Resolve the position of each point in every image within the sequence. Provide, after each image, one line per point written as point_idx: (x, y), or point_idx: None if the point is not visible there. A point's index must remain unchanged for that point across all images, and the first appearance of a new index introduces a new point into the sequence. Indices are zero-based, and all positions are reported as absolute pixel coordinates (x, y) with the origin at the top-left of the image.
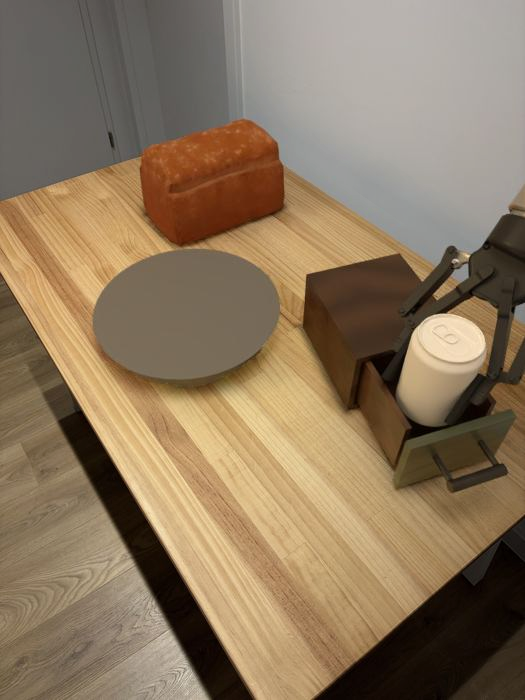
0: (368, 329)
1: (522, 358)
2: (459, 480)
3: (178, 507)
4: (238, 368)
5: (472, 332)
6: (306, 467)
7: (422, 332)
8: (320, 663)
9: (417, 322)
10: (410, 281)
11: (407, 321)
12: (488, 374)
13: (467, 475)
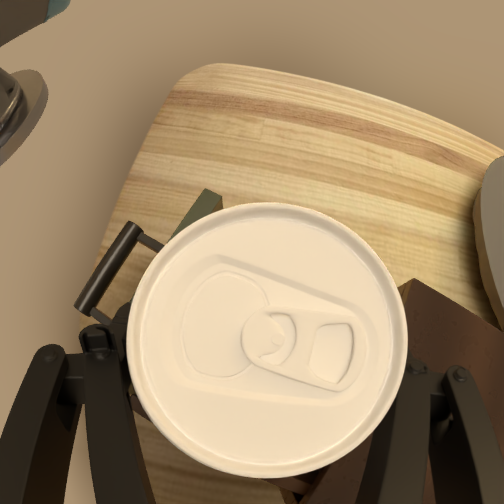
0: (447, 363)
1: (24, 408)
2: (125, 236)
3: (368, 107)
4: (477, 243)
5: (220, 434)
6: (324, 203)
7: (373, 285)
8: (184, 90)
9: (407, 377)
10: None
11: (426, 366)
12: (104, 333)
13: (118, 254)
